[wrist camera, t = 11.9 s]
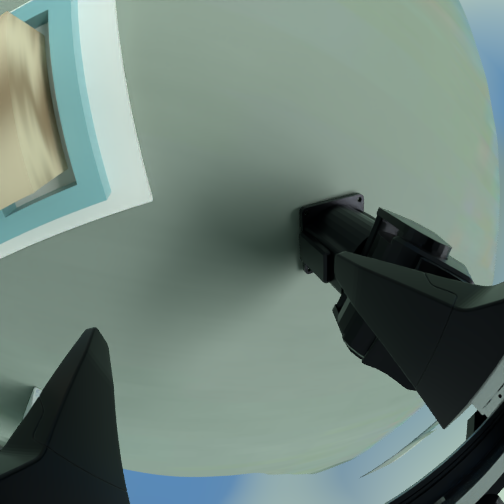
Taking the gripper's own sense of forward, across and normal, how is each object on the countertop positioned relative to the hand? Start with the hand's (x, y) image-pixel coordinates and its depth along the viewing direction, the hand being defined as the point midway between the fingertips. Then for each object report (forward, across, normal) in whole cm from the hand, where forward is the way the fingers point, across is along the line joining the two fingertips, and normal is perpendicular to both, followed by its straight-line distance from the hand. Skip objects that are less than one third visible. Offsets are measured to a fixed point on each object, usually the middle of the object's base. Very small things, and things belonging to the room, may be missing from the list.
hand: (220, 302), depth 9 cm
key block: (+11, +9, -10) cm, 17 cm away
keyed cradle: (+12, +9, -10) cm, 18 cm away
